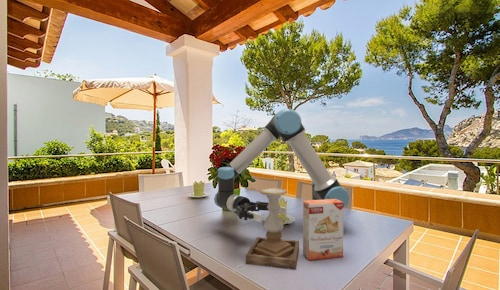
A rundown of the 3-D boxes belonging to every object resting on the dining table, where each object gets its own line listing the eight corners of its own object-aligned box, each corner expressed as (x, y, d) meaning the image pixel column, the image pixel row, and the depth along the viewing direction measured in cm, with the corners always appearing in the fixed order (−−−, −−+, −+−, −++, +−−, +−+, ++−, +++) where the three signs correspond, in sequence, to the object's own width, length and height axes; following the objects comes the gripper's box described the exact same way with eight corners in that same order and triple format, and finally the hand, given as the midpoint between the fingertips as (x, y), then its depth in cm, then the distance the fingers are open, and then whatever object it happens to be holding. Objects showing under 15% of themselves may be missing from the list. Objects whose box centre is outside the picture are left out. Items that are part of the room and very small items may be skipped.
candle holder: (253, 252, 97) (253, 190, 96) (272, 244, 105) (271, 186, 104) (276, 262, 89) (275, 194, 89) (294, 252, 97) (293, 190, 96)
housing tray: (299, 248, 103) (299, 240, 103) (295, 269, 86) (295, 260, 86) (257, 244, 107) (257, 237, 107) (246, 263, 91) (245, 255, 91)
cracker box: (309, 261, 92) (308, 203, 91) (302, 254, 98) (302, 199, 97) (344, 257, 94) (344, 201, 94) (335, 250, 100) (335, 197, 100)
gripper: (259, 207, 121) (294, 217, 105) (215, 218, 104) (248, 232, 88) (259, 192, 121) (294, 199, 104) (214, 200, 104) (248, 211, 88)
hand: (273, 214), depth 96 cm, fingers open, 13 cm apart
